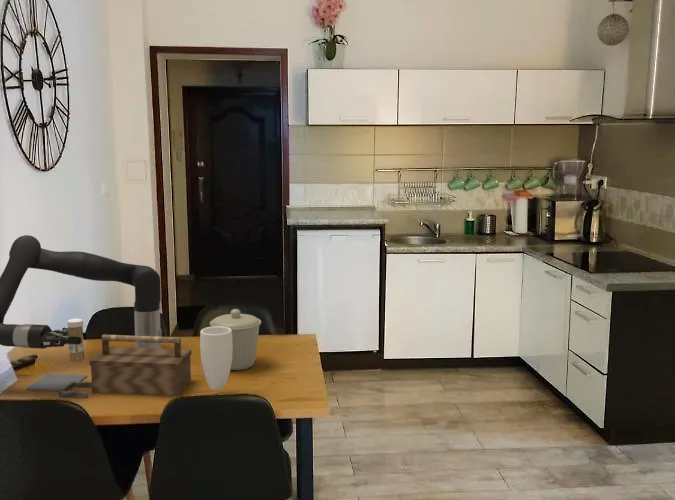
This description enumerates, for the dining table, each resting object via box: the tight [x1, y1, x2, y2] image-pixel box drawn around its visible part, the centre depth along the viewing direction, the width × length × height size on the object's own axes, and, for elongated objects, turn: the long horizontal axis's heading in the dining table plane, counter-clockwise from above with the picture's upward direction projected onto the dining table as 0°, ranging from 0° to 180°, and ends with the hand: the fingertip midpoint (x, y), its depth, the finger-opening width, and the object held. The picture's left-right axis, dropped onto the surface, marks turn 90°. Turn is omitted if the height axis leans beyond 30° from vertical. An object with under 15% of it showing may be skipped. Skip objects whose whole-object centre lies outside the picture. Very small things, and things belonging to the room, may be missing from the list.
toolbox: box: [57, 334, 192, 399], centre depth 215 cm, size 37×19×17 cm, turn 86°
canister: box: [209, 308, 262, 371], centre depth 237 cm, size 18×18×21 cm
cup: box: [199, 326, 233, 391], centre depth 209 cm, size 10×10×22 cm
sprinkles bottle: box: [67, 318, 85, 364], centre depth 210 cm, size 5×5×13 cm
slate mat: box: [25, 373, 88, 392], centre depth 219 cm, size 14×14×1 cm
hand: (84, 338), depth 210 cm, fingers closed on sprinkles bottle, 4 cm apart
